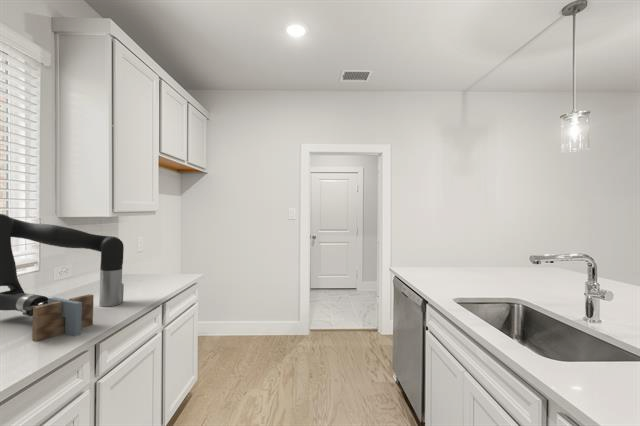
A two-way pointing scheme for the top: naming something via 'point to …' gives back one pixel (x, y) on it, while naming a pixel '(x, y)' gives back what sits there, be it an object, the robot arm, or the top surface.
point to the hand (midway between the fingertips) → (59, 309)
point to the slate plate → (70, 315)
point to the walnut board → (58, 317)
